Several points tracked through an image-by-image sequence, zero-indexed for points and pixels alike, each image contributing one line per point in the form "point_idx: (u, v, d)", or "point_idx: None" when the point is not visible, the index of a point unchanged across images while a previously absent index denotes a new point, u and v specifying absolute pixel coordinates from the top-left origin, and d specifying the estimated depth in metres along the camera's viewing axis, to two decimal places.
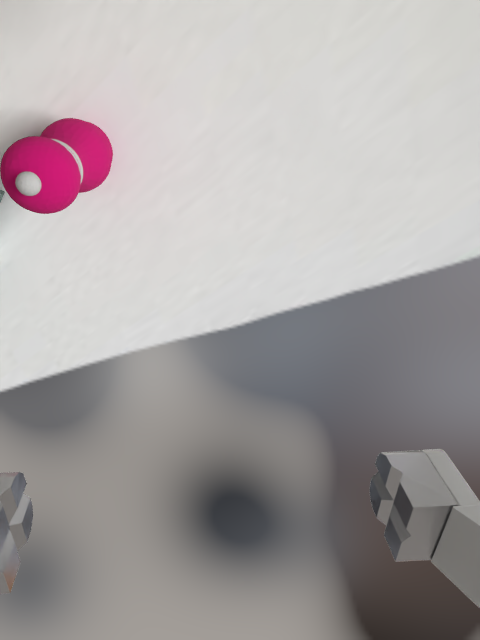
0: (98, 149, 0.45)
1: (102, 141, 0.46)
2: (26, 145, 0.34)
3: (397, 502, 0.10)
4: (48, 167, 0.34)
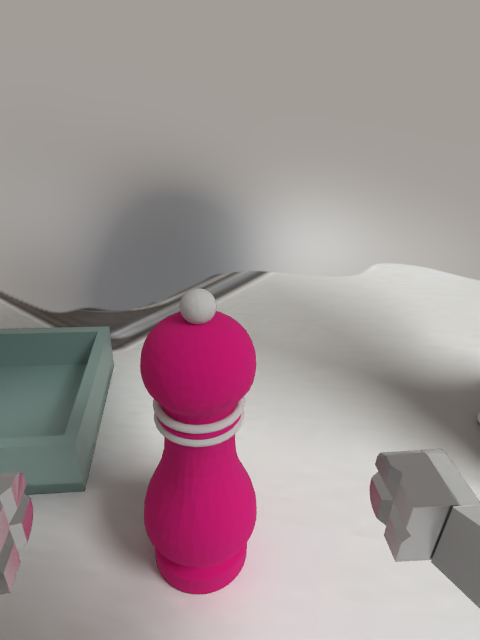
0: (241, 508, 0.27)
1: (250, 520, 0.28)
2: None
3: (397, 502, 0.10)
4: (231, 330, 0.22)
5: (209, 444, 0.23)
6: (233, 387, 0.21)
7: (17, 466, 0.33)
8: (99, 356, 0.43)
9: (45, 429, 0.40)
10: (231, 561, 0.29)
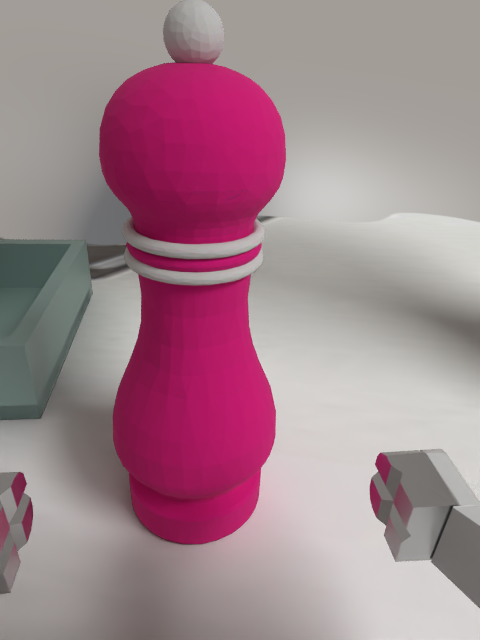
0: (256, 408, 0.18)
1: (268, 432, 0.19)
2: None
3: (397, 502, 0.10)
4: (248, 79, 0.13)
5: (210, 280, 0.14)
6: (252, 161, 0.13)
7: None
8: (70, 264, 0.34)
9: None
10: (238, 497, 0.20)
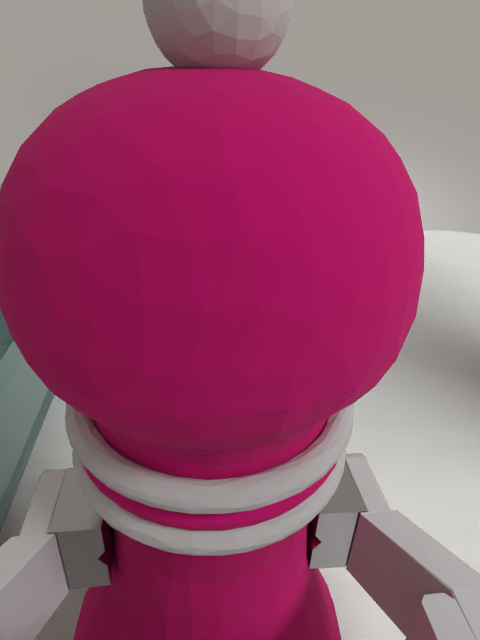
0: None
1: None
2: None
3: None
4: (351, 106, 0.06)
5: (251, 547, 0.07)
6: (375, 328, 0.05)
7: None
8: None
9: None
10: None
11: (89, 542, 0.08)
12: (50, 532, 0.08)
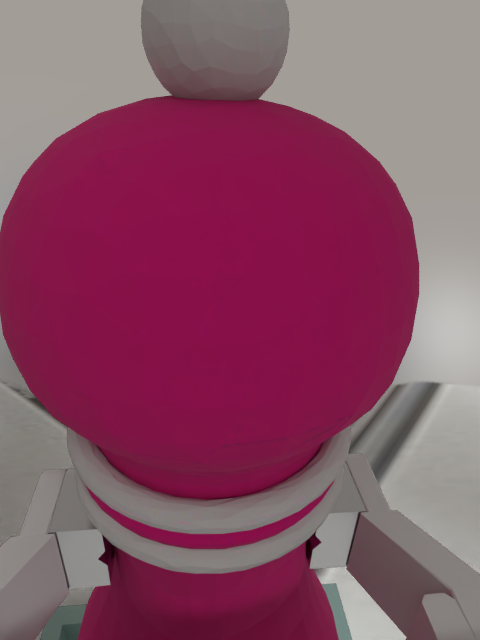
0: None
1: None
2: None
3: None
4: (346, 136, 0.06)
5: (250, 564, 0.07)
6: (370, 356, 0.05)
7: None
8: None
9: None
10: None
11: (89, 542, 0.08)
12: (50, 532, 0.08)
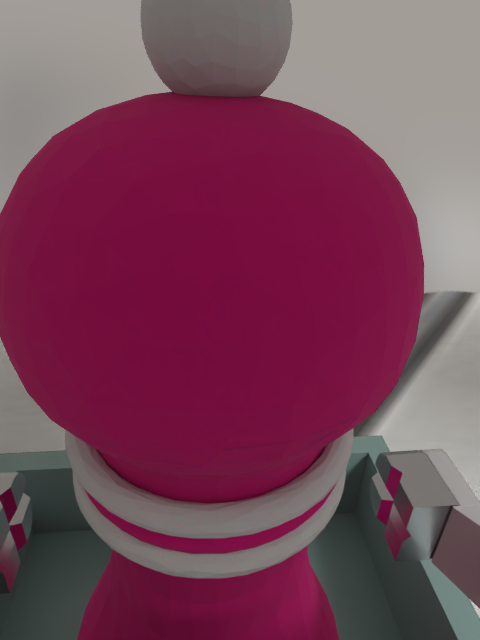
0: None
1: None
2: None
3: (397, 502, 0.10)
4: (350, 133, 0.06)
5: (252, 569, 0.07)
6: (376, 358, 0.05)
7: None
8: None
9: None
10: None
11: None
12: None
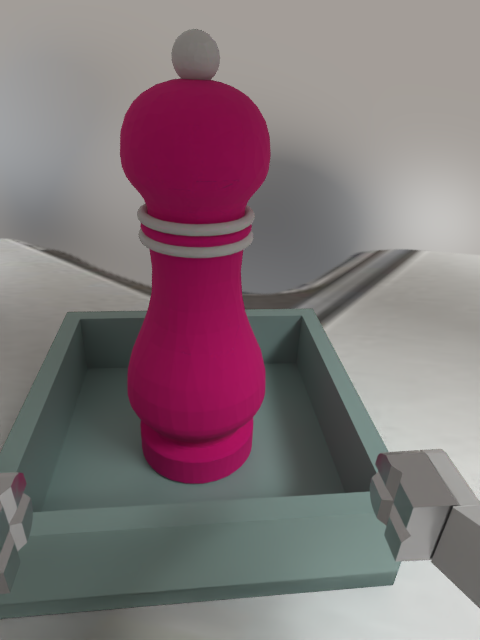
0: (248, 364, 0.21)
1: (259, 386, 0.22)
2: None
3: (397, 502, 0.10)
4: (239, 92, 0.17)
5: (209, 253, 0.18)
6: (242, 157, 0.16)
7: (304, 548, 0.18)
8: (333, 351, 0.28)
9: (275, 468, 0.24)
10: (234, 444, 0.23)
11: None
12: None
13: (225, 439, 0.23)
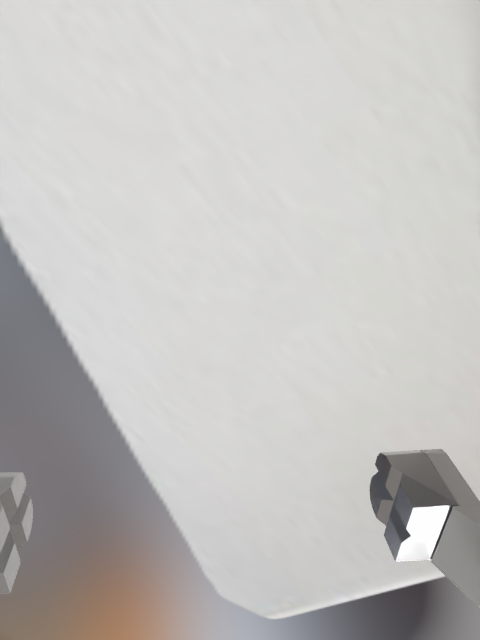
0: None
1: None
2: None
3: (397, 502, 0.10)
4: None
5: None
6: None
7: None
8: None
9: None
10: None
11: None
12: None
13: None
